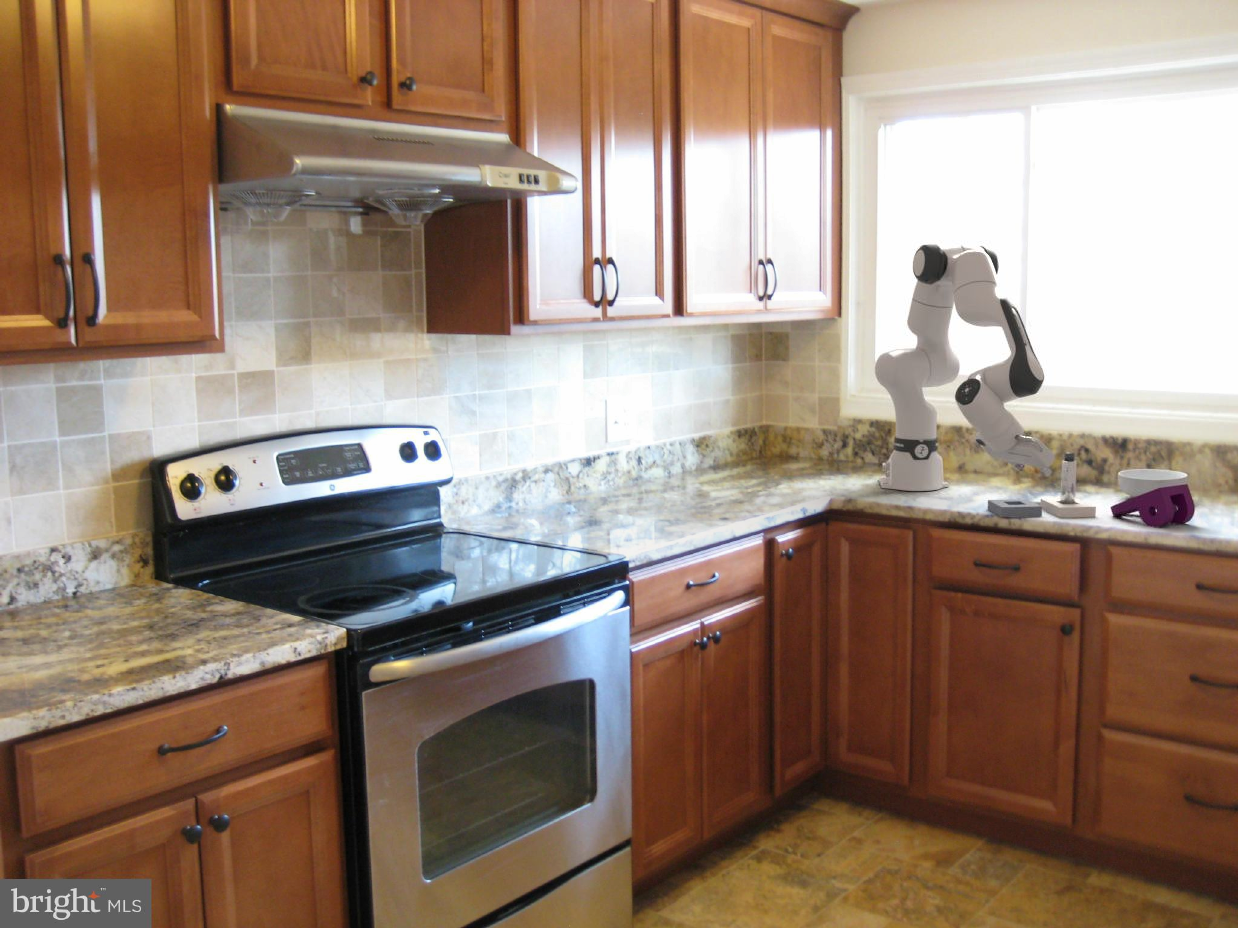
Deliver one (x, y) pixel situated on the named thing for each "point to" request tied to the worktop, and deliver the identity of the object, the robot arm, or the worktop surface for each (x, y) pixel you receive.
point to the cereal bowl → (1148, 480)
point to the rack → (1068, 508)
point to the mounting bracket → (1160, 506)
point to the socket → (1015, 508)
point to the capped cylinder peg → (1068, 479)
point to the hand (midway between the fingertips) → (1034, 471)
